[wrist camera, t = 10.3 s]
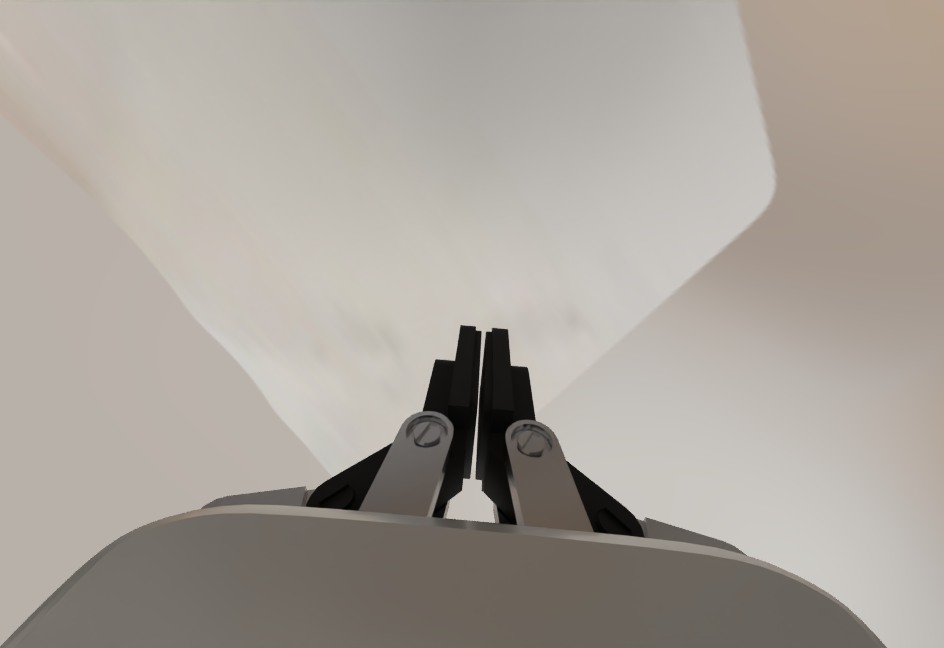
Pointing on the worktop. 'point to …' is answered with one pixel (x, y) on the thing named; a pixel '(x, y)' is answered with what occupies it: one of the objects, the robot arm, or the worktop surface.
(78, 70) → the worktop surface
